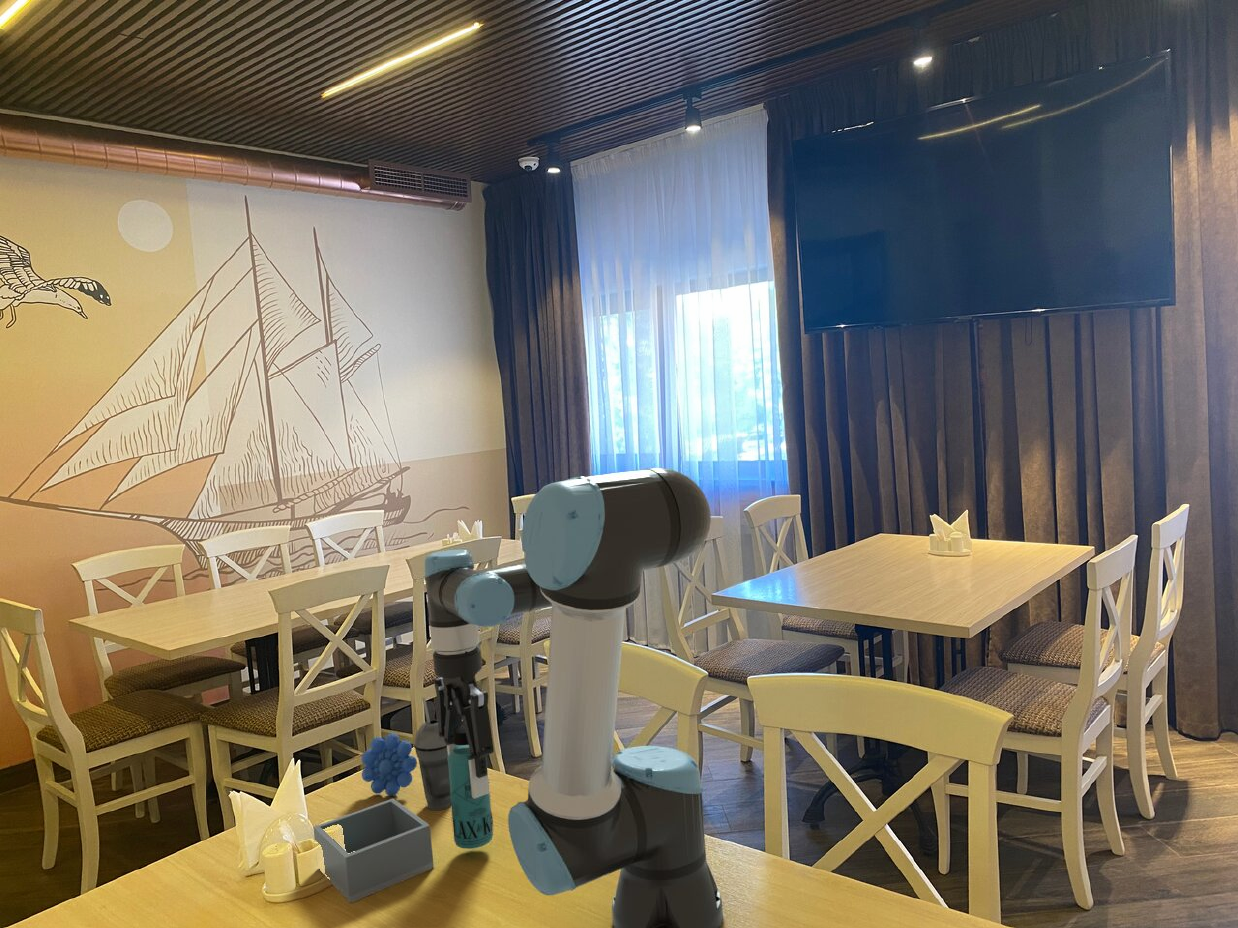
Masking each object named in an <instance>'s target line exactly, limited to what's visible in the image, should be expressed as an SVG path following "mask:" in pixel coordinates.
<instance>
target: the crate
mask: <svg viewBox="0 0 1238 928" xmlns="http://www.w3.org/2000/svg"><path fill="white" fill-rule="evenodd" d="M337 824H339V825H341V826H342V828H343V835H344V844H345V849H346V851H345V850H344V849H343V848H342V847H341V846H340V845H339V844H338V843H337V842H336V841H335V840H334V839H332V838H331V837H330V836H329V835H328V834H327V833H326V832H325V831H324V830H323V829H325V828H327V827H330V826H332V825H337ZM313 837H314V838H313V839H314V841H315V840H316V841H317V842H318V843H319V844H320V845H321V847H322V850H323V857H324V865H325V874H326V875H327V877H329V878H330V881H331V882H330V881H329V882H330V883H331V884H332V886H333V887H334V888H335V889H336V890H337V891H338V892H339V893H340V894H341V895H342V897H344V898H345V899H346V900H347V901H348V902H349V904H352V903H353V902H356V901H359V900H361V899H363V898H364V899H365V898H366V897H368V896H371V895H373V894H376V893H378V892H380V891H383V890H385V889H387V888H391V887H392V886H394V885H397V884H399V883H401V882H404V881H406V880H409V879H411V878H414V877H416V876H419V875H420V874H423V873H425V872H426V873H427V872H428V871H431V870H433V869H434V868H435V867H434V856H433V846H432V835H431V825H430V824H429V823H427V822H426V821H424V820H423V819H422V818H420V817H419V815H416V814H415V813H414V812H413V811H411V810H410V809H409V808H407V807H406V806H405V805H403V804H402V803H401V802H399V801H397V800H396V799H395V798H390V799H387V800H385V801H382V802H379V803H376V804H374V805H370V806H368V807H366V808H362V809H360V810H357V811H354V812H352V813H349V814H345V815H343V816H340V817H336V818H334V819H331V820H329V821H326V822H323V823H320V824H318V825H315V826H314V825H313ZM353 851H355V852H353ZM351 852H352V853H351ZM348 853H350V854H348Z"/></svg>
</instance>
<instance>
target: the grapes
mask: <svg viewBox="0 0 1238 928" xmlns="http://www.w3.org/2000/svg"><path fill="white" fill-rule="evenodd" d="M369 748H370V749H367V750H365V751H363V753H362V755H361V756H360V760H361V763H362V765H363V766H365V767H364V768H363V769H362V771H361V778H362V780H363V781H365V782H366V783H370V782H371V783H370V789H371V792H372V793H374V794H376V795H377V794H381V793H383V792H385V794H386V795H388V796H391V797H393V796H396V795H397V794H398V793H399V792H400V790H401V788H406V787H409V786H410V785H411V784H412V782H413V775H412V772H413V771H414V770H416V768H417V766H418V761H417V758H416V756H414V755H410V754H411V752H412V751H413V746H412V743H411V742H410V741H409V740H402V741H400V737H399V735H397V734H396V733H389V734H387V735H386V736H385V738H383V737H379V736H376V737H375V738H373V739H372V741H371V742H370V745H369Z"/></svg>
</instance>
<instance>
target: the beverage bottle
mask: <svg viewBox="0 0 1238 928" xmlns="http://www.w3.org/2000/svg"><path fill="white" fill-rule="evenodd" d="M453 744H455V745H461V746H458V747H456V748H455V749H453V751H452V752H451V753H450V754H449V755H448V757H447V761H448V768H449V780H450V796H451V805H450V806H449V807H450V808H451V811H450V812H451V818H450V819H451V820H452V832H453V842H454V843H455V845H456V847H459V848H460V849H465V850H466V849H467V850H468V849H470V850H472V849H478V848H481V847H483V846H486V845H487V844H489V843H490V842H491V841H492V840H493V835H494V833H495V832H494V820H493V819H494V817H493V812H492V807H491V806H492V803H491V791H489V793H488V794H486V795H483V796H480V797H478V798H475V799H474V798H472V792H471V781H470V770H469V760H468V758H467V756H470V755H471V752H470V748H469V744H468V740H467V736H466V732H465V728H464V724H463V725H462V726H459V727H456V728H455V729H454V730H453ZM487 756H488V755H486V757H487ZM486 761H487V758H486ZM487 762H488V761H487ZM487 772H488V770H487ZM488 783H489V784H490V779H489V778H488Z"/></svg>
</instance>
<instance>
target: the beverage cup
mask: <svg viewBox="0 0 1238 928" xmlns="http://www.w3.org/2000/svg"><path fill="white" fill-rule="evenodd" d="M422 703H423V707H424V712H425V717H426V722H424V723H422V725H420V726H419V728H418V729H417V731H416V733H415V738H414V746H413V747H414V749H415V754H416V757H417V759H418V764H419V769H420V775H421V780H422V786H423V790H424V797H425V799H426V800H425V801H426V804H427V808H428V809H429V810H432V811H441V810H445V809H447V808H450V807H451V806H450V805H451V796H450V780H449V768H448V761H447V757H448V752H447V744H446V743H445V741H444V737H440V736H439V732H438V719H431V718H430V715H429V714H430V713H429V709H428V706H427V700H426V697H422ZM444 729H445V727H444Z"/></svg>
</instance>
